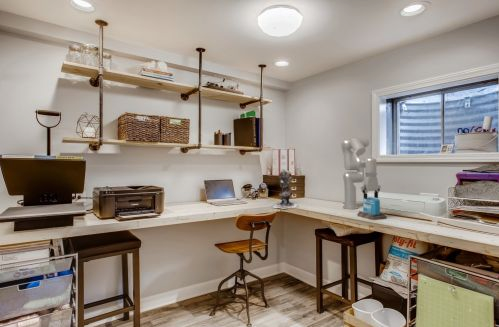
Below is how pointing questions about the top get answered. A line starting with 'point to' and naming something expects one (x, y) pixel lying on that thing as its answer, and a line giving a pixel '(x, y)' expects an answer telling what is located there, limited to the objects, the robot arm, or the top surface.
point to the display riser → (371, 215)
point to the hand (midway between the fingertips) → (370, 198)
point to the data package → (371, 206)
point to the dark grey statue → (285, 191)
